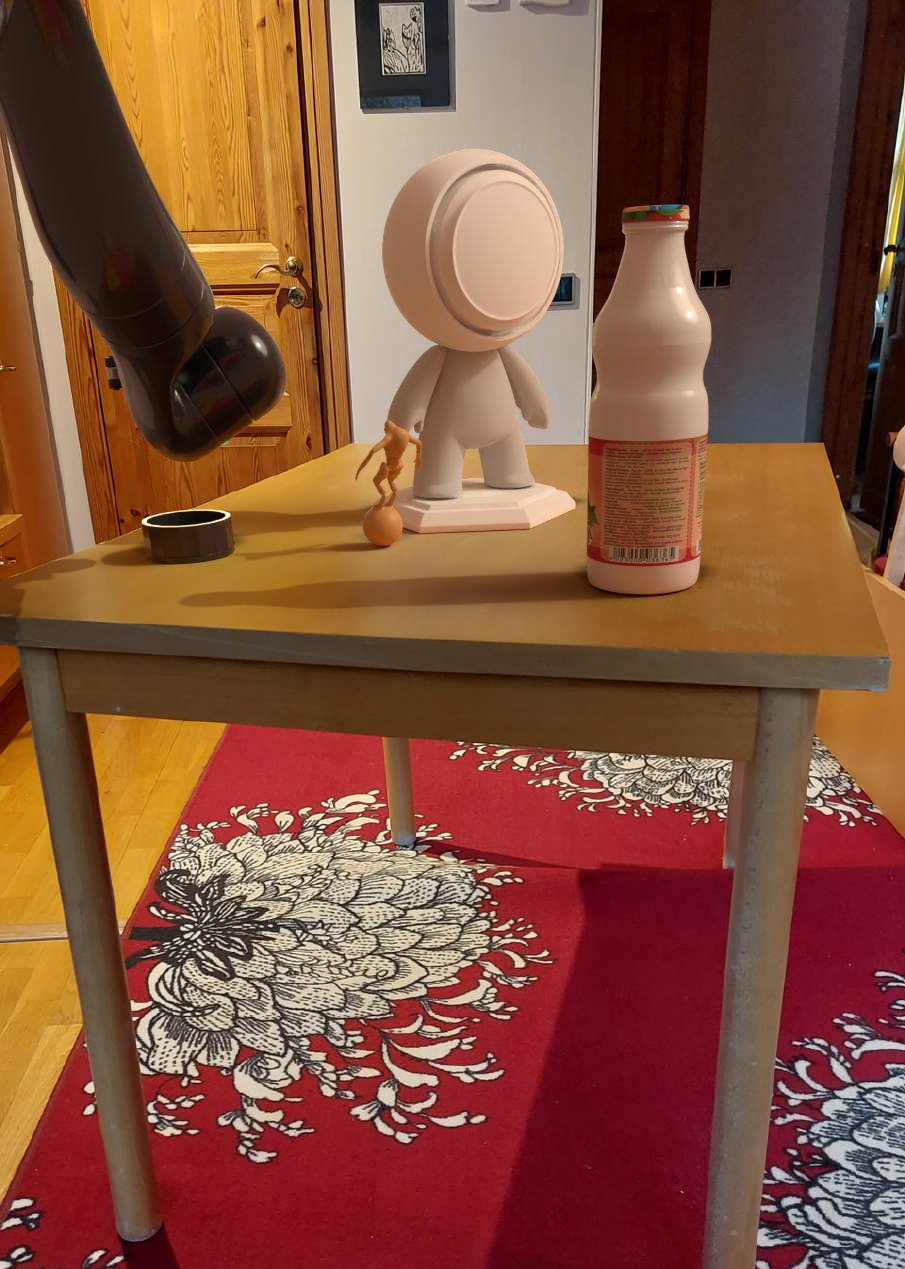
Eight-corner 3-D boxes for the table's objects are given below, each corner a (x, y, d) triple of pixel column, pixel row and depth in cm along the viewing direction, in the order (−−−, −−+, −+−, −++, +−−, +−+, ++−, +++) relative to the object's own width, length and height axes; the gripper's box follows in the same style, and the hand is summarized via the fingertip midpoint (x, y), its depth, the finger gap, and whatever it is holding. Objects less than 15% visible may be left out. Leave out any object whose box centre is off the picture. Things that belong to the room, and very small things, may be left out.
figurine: (400, 535, 114) (393, 413, 109) (441, 543, 110) (436, 416, 105) (339, 550, 109) (328, 422, 103) (379, 559, 105) (371, 426, 99)
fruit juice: (640, 603, 87) (655, 201, 75) (563, 581, 94) (565, 211, 82) (722, 582, 92) (749, 201, 80) (643, 563, 99) (656, 210, 87)
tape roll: (167, 568, 105) (161, 531, 103) (134, 553, 111) (128, 518, 109) (249, 553, 109) (245, 517, 107) (213, 540, 115) (208, 506, 114)
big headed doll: (447, 542, 110) (431, 134, 95) (348, 509, 128) (321, 162, 113) (607, 516, 119) (616, 139, 104) (493, 488, 137) (486, 163, 122)
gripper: (108, 429, 87) (110, 411, 102) (288, 416, 90) (265, 400, 105) (90, 326, 84) (96, 323, 99) (278, 316, 87) (256, 314, 102)
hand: (183, 363), depth 102 cm, fingers closed on candle, 5 cm apart
